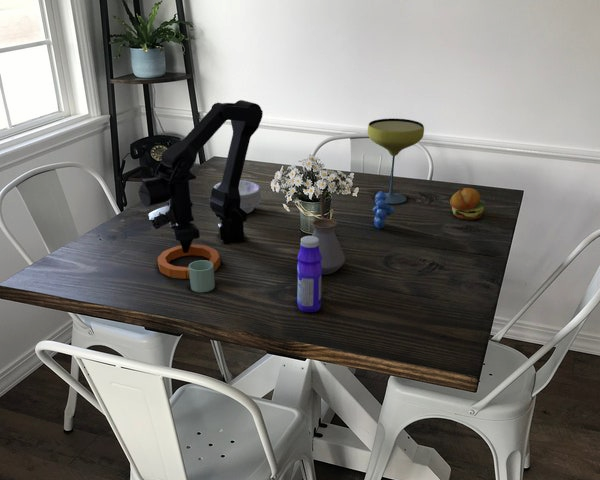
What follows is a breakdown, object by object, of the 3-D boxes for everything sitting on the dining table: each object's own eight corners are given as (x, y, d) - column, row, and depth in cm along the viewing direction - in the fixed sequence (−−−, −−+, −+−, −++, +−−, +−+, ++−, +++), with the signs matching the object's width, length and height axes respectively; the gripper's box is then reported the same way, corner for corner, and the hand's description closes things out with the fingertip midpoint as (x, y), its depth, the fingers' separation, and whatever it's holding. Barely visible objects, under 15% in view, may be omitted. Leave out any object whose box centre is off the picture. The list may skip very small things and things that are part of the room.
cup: (212, 279, 160) (210, 258, 157) (217, 290, 155) (215, 268, 152) (188, 283, 158) (186, 262, 155) (193, 294, 153) (191, 272, 150)
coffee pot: (346, 277, 161) (348, 223, 154) (301, 277, 161) (301, 223, 154) (341, 244, 180) (342, 194, 172) (301, 244, 179) (301, 194, 172)
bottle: (295, 299, 151) (295, 233, 142) (319, 298, 151) (320, 232, 143) (298, 314, 144) (298, 246, 136) (322, 313, 145) (324, 245, 136)
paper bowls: (270, 207, 205) (269, 184, 201) (242, 222, 194) (241, 198, 190) (233, 199, 212) (232, 176, 208) (204, 212, 201) (202, 189, 197)
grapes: (394, 236, 184) (397, 197, 178) (371, 235, 185) (374, 197, 179) (392, 221, 194) (395, 184, 189) (370, 221, 195) (372, 184, 189)
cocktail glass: (365, 188, 221) (369, 117, 209) (416, 191, 219) (423, 119, 207) (362, 206, 206) (366, 130, 194) (418, 209, 204) (425, 132, 191)
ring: (212, 249, 176) (212, 241, 175) (225, 273, 163) (224, 265, 162) (155, 256, 172) (154, 248, 171) (163, 282, 159) (162, 274, 157)
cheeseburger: (491, 216, 198) (491, 188, 192) (468, 230, 194) (467, 203, 188) (467, 206, 205) (466, 179, 199) (444, 220, 202) (442, 193, 195)
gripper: (144, 189, 171) (151, 241, 178) (153, 213, 155) (160, 269, 163) (185, 185, 174) (190, 236, 181) (197, 208, 158) (202, 263, 166)
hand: (184, 251), depth 173 cm, fingers closed on ring, 2 cm apart
